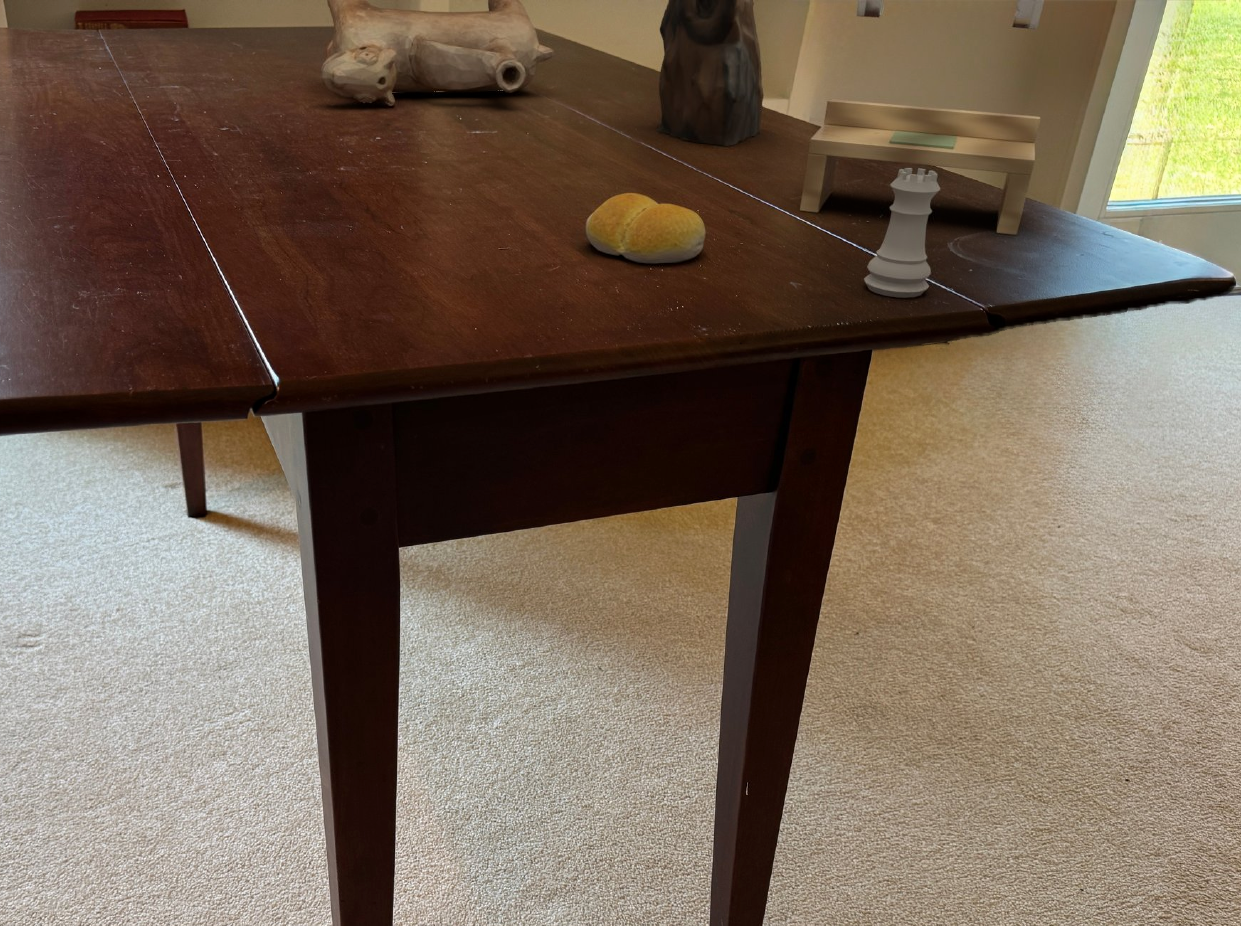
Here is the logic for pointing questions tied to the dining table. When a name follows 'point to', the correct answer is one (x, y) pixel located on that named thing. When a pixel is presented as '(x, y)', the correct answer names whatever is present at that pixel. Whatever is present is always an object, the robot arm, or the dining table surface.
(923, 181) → the rook chess piece
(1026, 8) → the robot arm
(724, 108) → the owl
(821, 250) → the dining table surface
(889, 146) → the bench
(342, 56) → the ceramic vessel
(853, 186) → the dining table surface
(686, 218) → the bread roll
